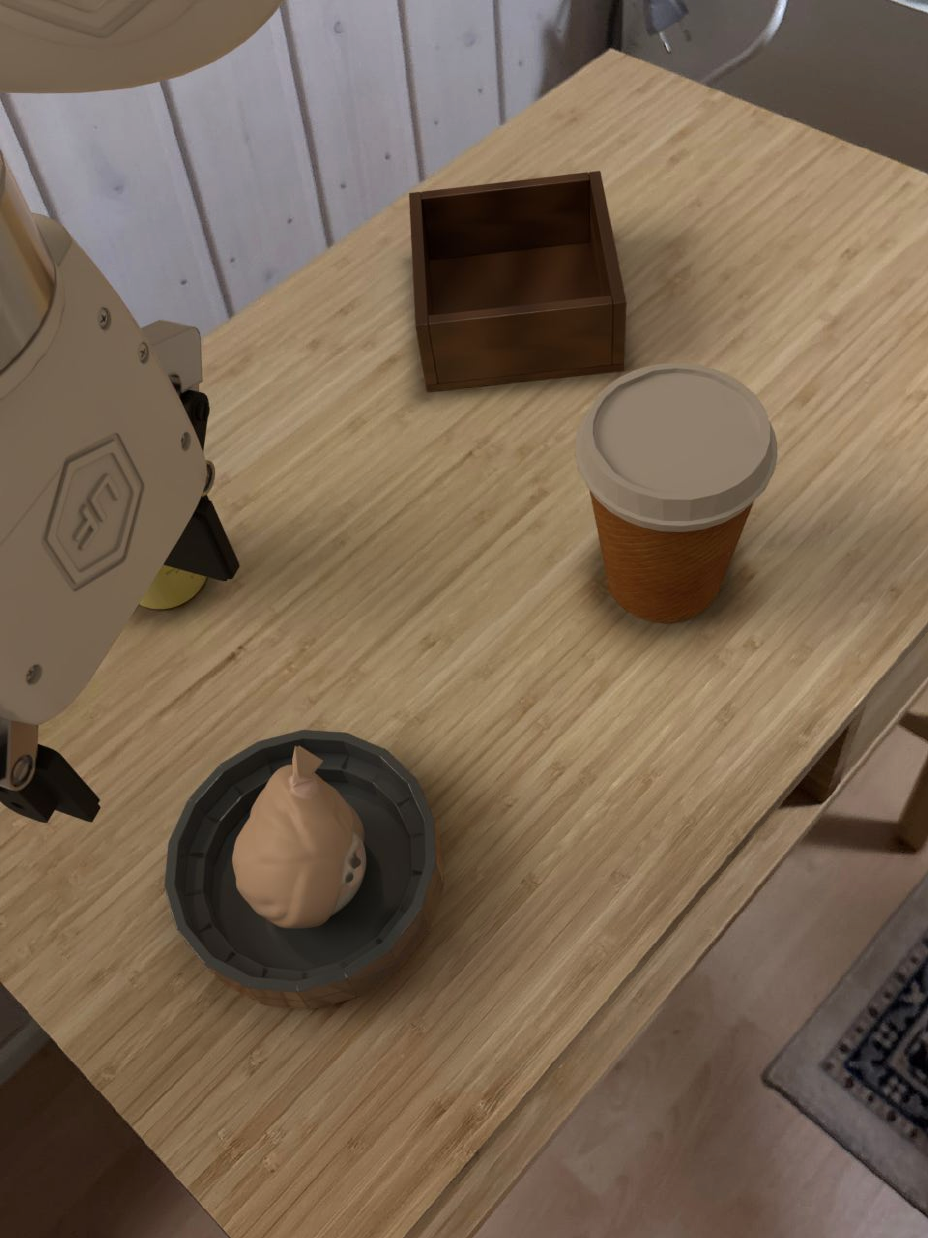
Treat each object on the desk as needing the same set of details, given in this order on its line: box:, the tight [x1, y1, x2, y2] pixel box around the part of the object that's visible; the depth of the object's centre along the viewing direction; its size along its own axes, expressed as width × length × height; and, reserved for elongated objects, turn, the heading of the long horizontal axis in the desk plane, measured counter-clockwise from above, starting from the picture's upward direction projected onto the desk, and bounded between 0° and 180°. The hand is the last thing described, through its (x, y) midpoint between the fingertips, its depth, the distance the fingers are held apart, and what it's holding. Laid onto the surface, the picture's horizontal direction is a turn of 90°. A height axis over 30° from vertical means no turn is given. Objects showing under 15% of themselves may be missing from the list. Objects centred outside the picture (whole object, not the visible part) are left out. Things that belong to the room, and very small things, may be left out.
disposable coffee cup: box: [574, 362, 779, 624], centre depth 59 cm, size 10×10×12 cm
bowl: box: [164, 729, 444, 1011], centre depth 54 cm, size 13×13×4 cm
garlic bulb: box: [232, 746, 366, 929], centre depth 52 cm, size 7×6×8 cm
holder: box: [408, 170, 627, 392], centre depth 74 cm, size 13×13×6 cm
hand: (133, 676), depth 39 cm, fingers open, 9 cm apart
